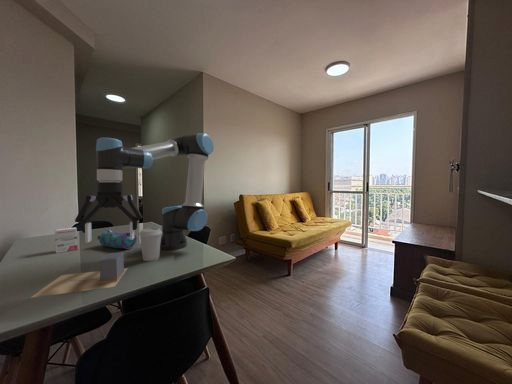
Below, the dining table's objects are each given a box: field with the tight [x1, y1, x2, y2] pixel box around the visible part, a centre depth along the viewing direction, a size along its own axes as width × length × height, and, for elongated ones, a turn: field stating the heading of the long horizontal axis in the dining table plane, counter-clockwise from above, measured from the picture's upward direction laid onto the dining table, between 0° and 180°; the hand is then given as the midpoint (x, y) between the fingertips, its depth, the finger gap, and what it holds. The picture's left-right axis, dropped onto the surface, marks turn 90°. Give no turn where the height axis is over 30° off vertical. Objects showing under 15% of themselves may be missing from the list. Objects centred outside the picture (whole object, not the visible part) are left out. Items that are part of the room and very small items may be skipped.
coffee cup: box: [138, 227, 162, 262], centre depth 94 cm, size 10×10×15 cm
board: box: [30, 267, 129, 299], centre depth 73 cm, size 22×16×2 cm
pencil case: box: [96, 229, 137, 250], centre depth 115 cm, size 21×9×10 cm, turn 69°
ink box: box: [54, 226, 78, 254], centre depth 109 cm, size 8×5×12 cm, turn 133°
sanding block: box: [99, 251, 125, 284], centre depth 75 cm, size 8×5×8 cm, turn 18°
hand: (111, 240), depth 74 cm, fingers open, 13 cm apart
